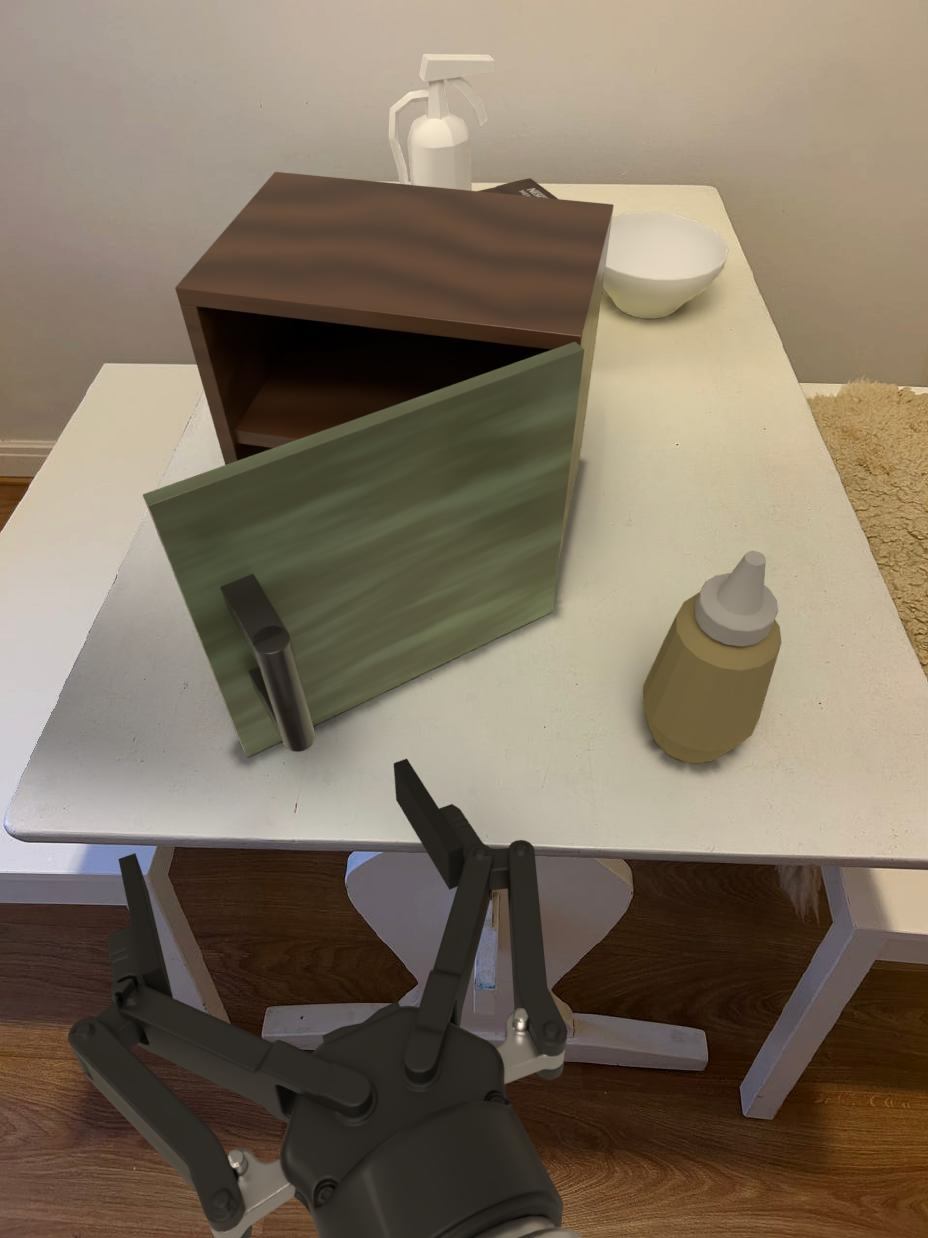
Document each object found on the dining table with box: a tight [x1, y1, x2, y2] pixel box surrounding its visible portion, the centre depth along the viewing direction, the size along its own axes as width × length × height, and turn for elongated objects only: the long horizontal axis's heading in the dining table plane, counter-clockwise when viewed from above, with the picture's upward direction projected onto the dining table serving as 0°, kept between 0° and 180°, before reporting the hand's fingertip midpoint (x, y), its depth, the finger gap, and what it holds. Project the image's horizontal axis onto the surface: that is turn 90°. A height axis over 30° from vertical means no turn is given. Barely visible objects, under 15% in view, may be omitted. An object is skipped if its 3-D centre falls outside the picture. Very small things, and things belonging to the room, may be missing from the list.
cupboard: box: [174, 171, 614, 564], centre depth 67 cm, size 18×26×24 cm
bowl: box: [603, 211, 730, 320], centre depth 96 cm, size 16×16×7 cm
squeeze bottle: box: [642, 550, 782, 764], centre depth 54 cm, size 8×8×18 cm
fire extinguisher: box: [387, 53, 496, 191], centre depth 90 cm, size 7×12×25 cm, turn 104°
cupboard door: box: [142, 342, 584, 758], centre depth 53 cm, size 7×26×24 cm, turn 121°
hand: (275, 823), depth 42 cm, fingers open, 13 cm apart
